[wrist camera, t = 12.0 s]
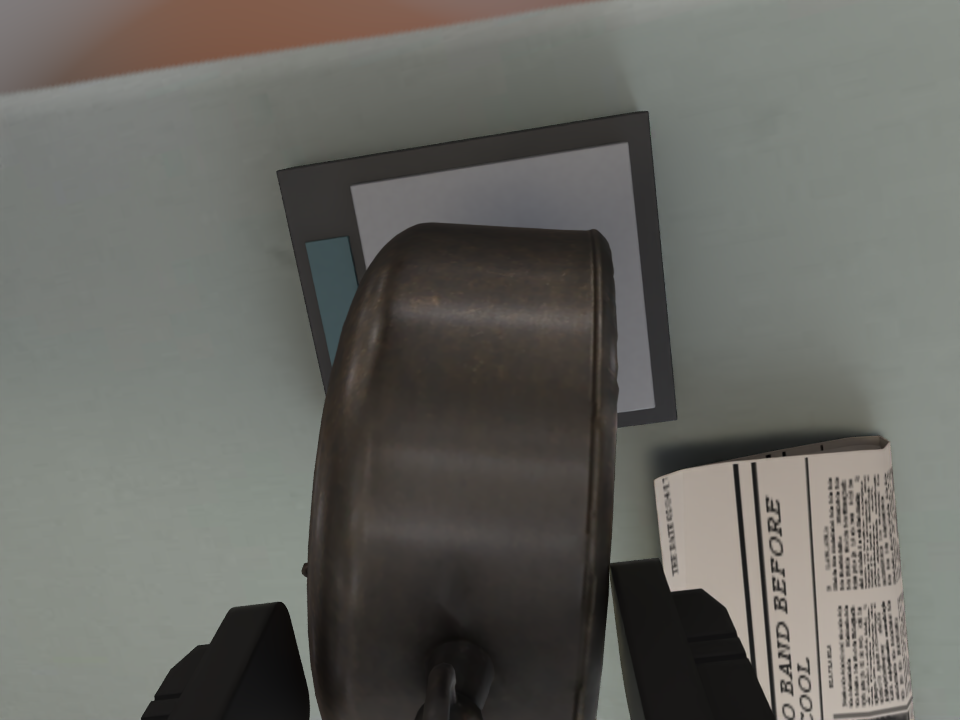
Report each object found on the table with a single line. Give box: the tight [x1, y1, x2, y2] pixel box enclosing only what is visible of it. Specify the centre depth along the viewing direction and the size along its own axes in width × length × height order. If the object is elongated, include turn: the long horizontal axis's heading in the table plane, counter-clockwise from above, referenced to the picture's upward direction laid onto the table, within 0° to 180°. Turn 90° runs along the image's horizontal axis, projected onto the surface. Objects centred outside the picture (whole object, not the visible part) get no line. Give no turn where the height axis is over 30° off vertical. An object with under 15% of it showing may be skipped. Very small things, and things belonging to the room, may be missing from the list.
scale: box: [277, 111, 677, 428], centre depth 35 cm, size 15×13×3 cm
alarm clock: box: [302, 222, 619, 720], centre depth 15 cm, size 11×5×16 cm, turn 177°
